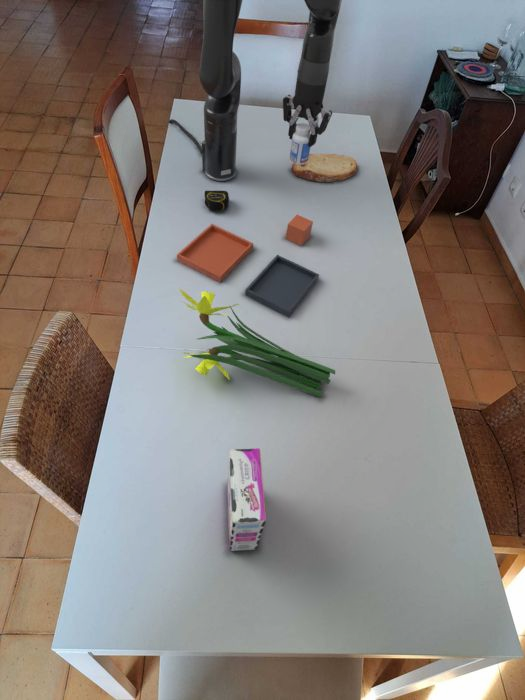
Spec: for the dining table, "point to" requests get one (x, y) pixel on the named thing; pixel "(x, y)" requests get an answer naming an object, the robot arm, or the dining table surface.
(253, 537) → the candy bar box
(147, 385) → the dining table surface
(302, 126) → the pill bottle
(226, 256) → the terracotta tray
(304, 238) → the terracotta block
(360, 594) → the dining table surface
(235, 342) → the daffodil flowers
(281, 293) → the slate tray
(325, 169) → the slice of bread
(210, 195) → the tape measure
